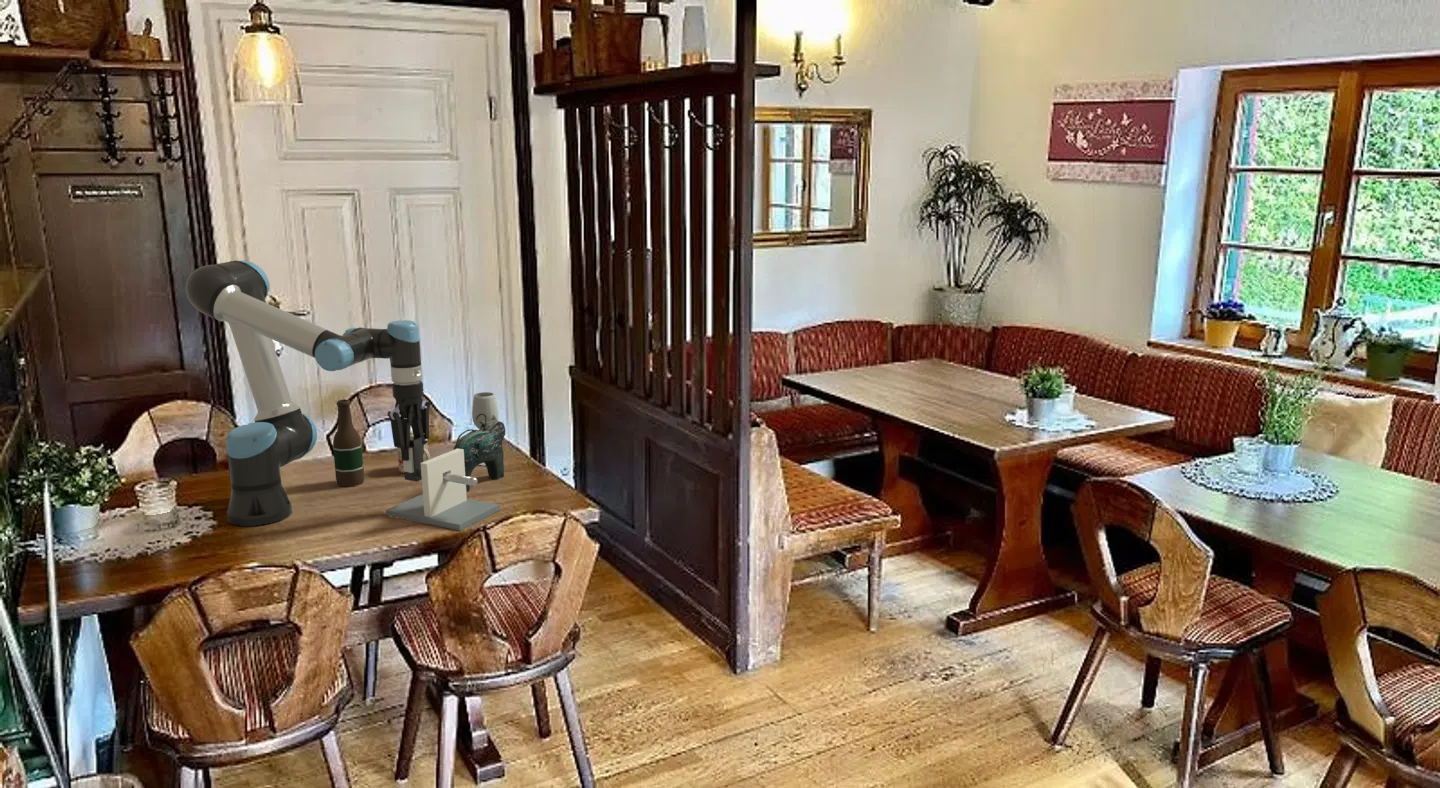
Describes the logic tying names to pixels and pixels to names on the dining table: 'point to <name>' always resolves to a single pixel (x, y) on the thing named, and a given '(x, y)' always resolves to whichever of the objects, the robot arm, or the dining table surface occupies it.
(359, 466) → the beer bottle
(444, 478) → the hook rod
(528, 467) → the dining table surface
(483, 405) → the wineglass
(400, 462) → the teacup with lid
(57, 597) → the dining table surface
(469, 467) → the green animal figurine
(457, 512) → the panel with square hole
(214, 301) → the robot arm
